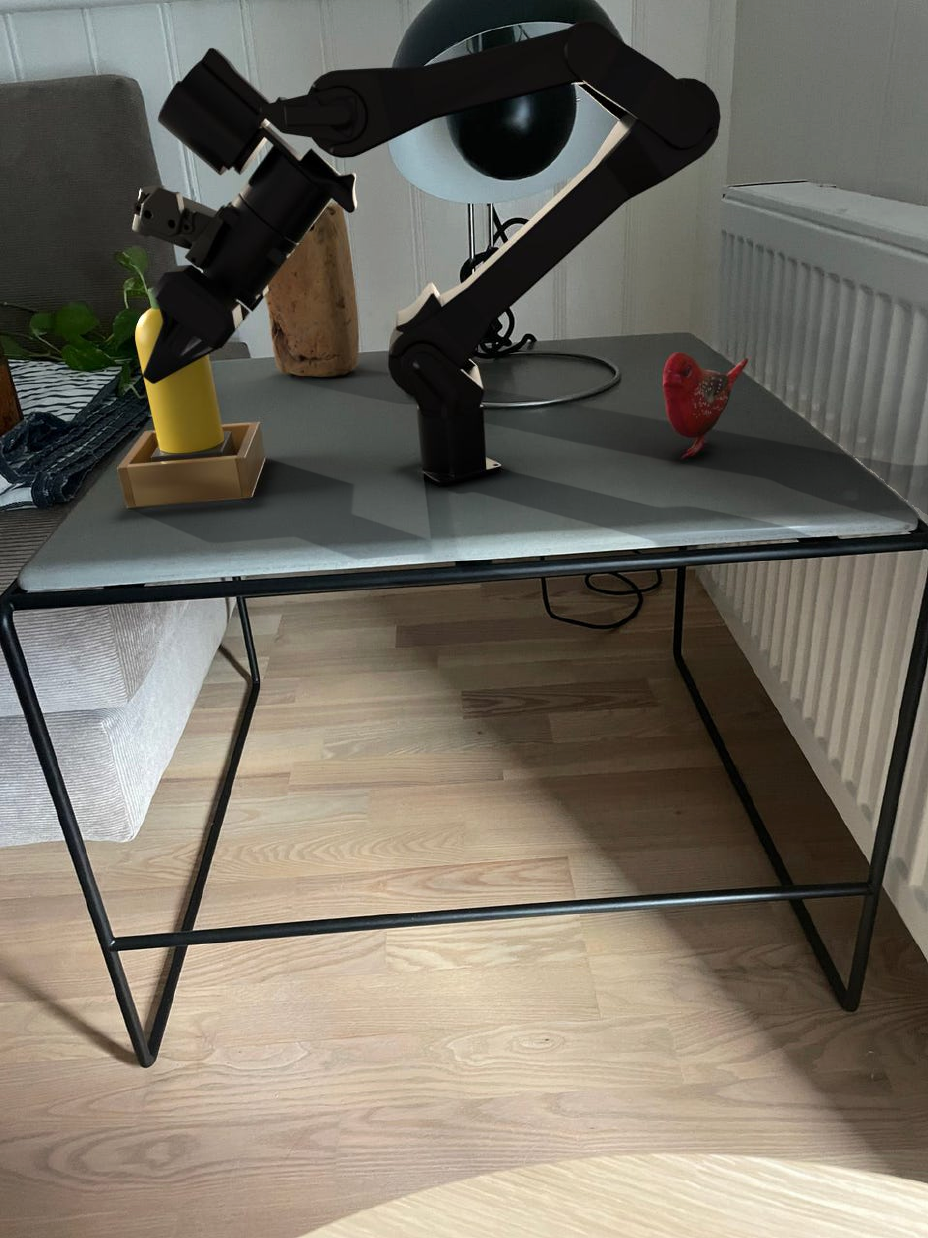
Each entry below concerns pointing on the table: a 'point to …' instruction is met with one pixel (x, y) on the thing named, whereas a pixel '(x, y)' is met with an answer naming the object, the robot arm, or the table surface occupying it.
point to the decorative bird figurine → (695, 396)
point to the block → (316, 303)
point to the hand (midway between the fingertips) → (160, 368)
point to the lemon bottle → (179, 396)
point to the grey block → (218, 451)
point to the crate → (193, 471)
